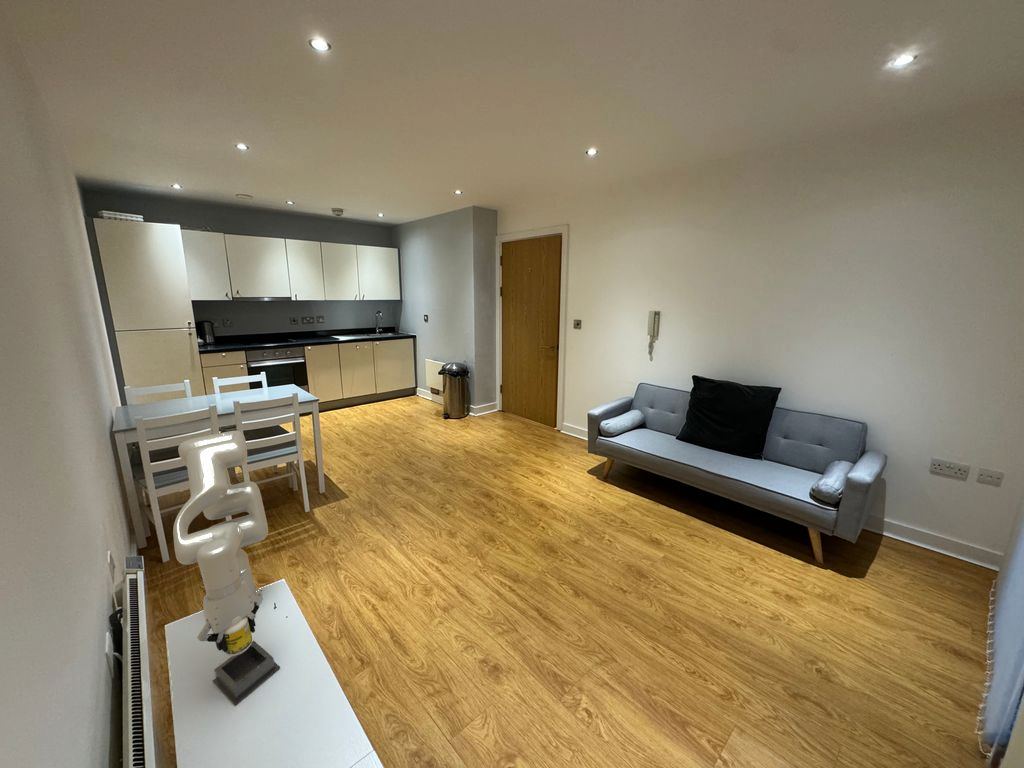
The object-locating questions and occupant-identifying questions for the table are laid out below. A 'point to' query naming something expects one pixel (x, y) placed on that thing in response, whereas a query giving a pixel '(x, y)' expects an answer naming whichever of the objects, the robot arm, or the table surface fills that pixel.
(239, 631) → the pill bottle
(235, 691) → the socket
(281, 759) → the table surface
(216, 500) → the robot arm
